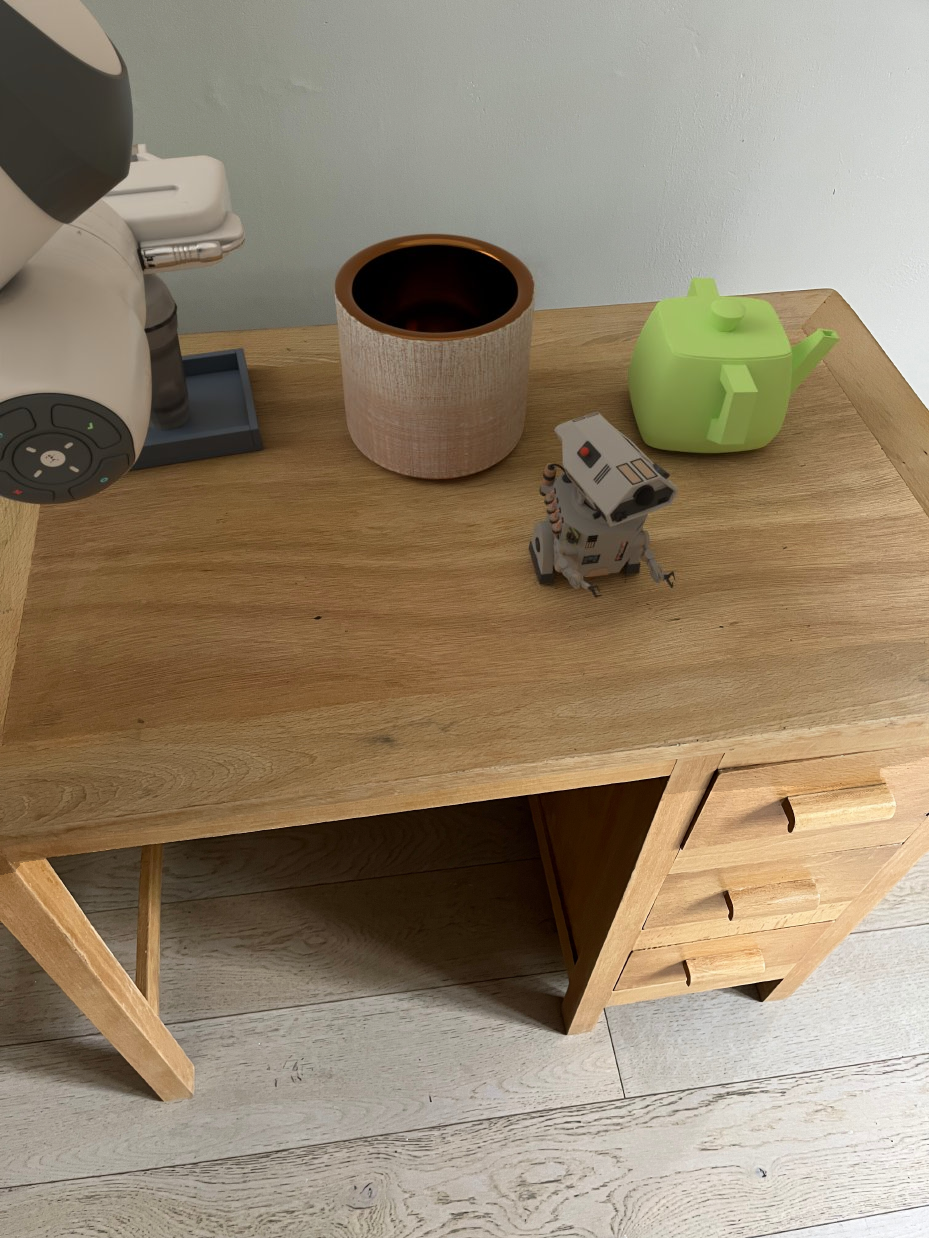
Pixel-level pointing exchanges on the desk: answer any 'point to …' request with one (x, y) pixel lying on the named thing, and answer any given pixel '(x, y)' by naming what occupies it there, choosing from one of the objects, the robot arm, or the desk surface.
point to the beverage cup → (164, 357)
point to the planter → (435, 352)
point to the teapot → (717, 372)
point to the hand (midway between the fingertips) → (62, 163)
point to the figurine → (598, 506)
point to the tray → (209, 413)
